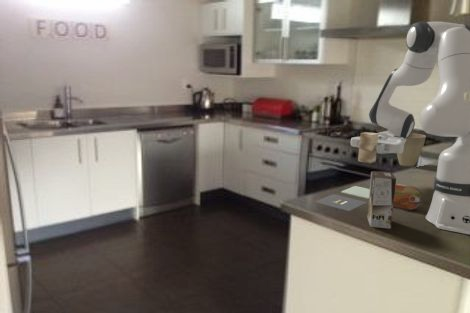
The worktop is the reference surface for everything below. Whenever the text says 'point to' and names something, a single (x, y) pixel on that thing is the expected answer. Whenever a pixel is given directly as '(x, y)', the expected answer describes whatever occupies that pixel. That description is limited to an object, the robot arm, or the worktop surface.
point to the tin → (407, 197)
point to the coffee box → (381, 199)
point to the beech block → (367, 147)
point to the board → (357, 192)
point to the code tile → (340, 202)
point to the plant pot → (411, 150)
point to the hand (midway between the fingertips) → (367, 146)
